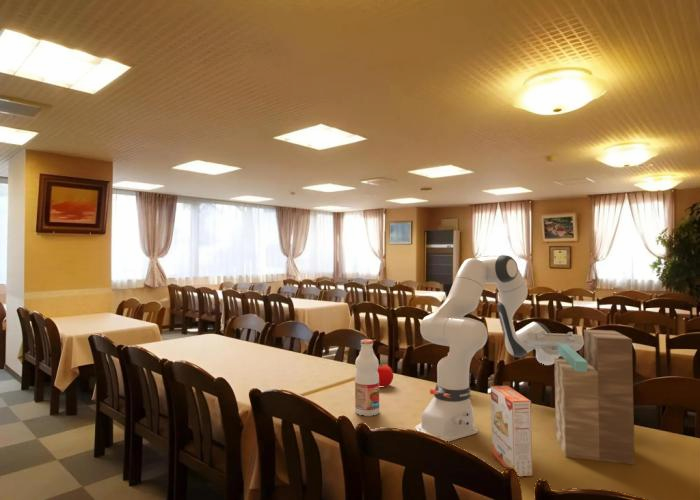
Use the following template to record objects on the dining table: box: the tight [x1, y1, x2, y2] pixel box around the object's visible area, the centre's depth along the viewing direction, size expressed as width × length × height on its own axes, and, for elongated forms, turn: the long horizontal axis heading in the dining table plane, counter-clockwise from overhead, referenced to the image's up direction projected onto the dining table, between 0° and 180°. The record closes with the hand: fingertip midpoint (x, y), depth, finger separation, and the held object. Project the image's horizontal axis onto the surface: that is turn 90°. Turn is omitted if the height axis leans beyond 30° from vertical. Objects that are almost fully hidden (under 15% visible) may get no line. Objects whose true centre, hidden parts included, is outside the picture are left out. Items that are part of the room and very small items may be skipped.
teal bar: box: [558, 344, 587, 372], centre depth 137 cm, size 26×3×3 cm, turn 164°
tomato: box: [377, 363, 394, 387], centre depth 197 cm, size 12×12×10 cm
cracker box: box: [490, 385, 534, 478], centre depth 121 cm, size 14×6×21 cm, turn 5°
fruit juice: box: [354, 338, 380, 417], centre depth 164 cm, size 9×9×28 cm
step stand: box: [553, 329, 635, 465], centre depth 131 cm, size 15×18×36 cm
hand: (556, 333), depth 157 cm, fingers open, 8 cm apart
